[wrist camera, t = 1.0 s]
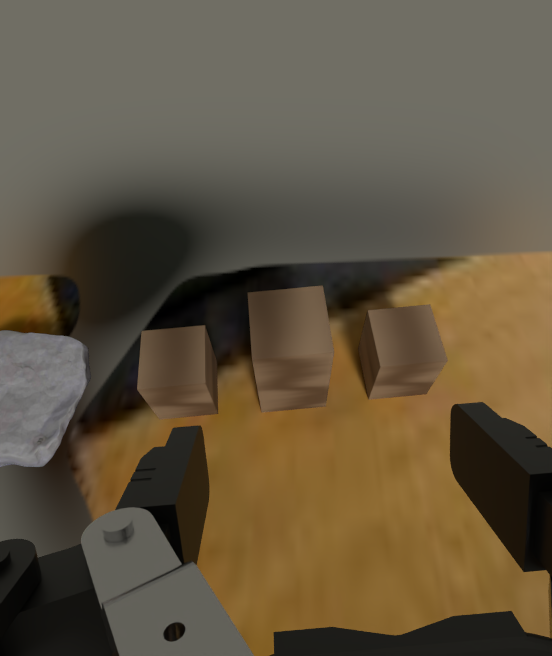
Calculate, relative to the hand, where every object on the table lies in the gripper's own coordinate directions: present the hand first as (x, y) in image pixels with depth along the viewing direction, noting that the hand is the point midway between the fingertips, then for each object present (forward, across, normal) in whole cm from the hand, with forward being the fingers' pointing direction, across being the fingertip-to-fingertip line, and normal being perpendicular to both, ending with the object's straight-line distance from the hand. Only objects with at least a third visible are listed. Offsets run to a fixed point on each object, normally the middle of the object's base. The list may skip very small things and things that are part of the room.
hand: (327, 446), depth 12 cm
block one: (+27, -9, +8) cm, 29 cm away
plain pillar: (+27, 0, +8) cm, 28 cm away
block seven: (+27, +9, +8) cm, 29 cm away
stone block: (+27, +23, +8) cm, 36 cm away
